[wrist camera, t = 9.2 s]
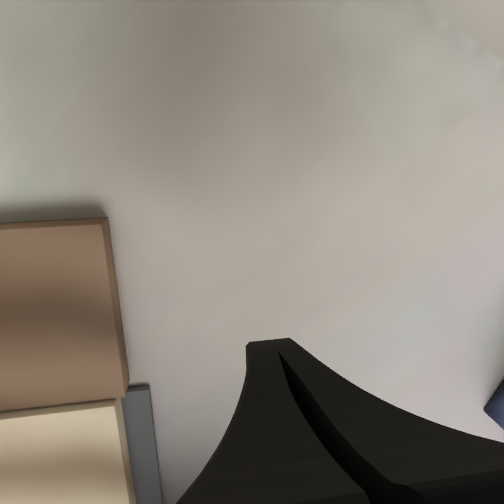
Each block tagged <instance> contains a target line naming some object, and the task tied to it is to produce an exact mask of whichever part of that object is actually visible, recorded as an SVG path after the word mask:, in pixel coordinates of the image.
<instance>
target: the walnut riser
mask: <svg viewBox="0 0 504 504" xmlns="http://www.w3.org/2000/svg"><path fill="white" fill-rule="evenodd" d="M128 383H129V373H128V365H127V358H126V350H125V343H124V335H123V328H122V320H121V313H120V305H119V298H118V290H117V283H116V275H115V268H114V260H113V253H112V245H111V238H110V230H109V223H108V218H89V219H70V220H51V221H32V222H14V223H0V411H7V410H16V409H25V408H33V407H42V406H51V405H59V404H68V403H77V402H86V401H94V400H103V399H112V398H121V397H125V396H126V392H127V387H128Z"/></svg>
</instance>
